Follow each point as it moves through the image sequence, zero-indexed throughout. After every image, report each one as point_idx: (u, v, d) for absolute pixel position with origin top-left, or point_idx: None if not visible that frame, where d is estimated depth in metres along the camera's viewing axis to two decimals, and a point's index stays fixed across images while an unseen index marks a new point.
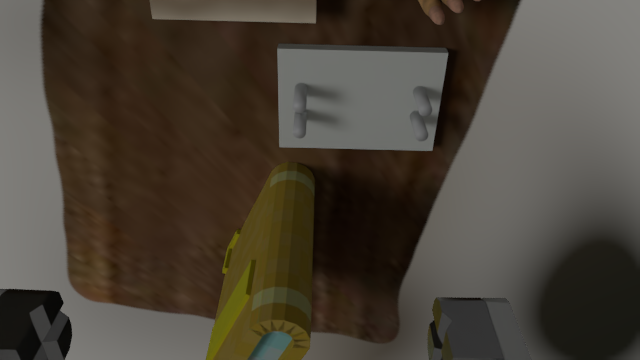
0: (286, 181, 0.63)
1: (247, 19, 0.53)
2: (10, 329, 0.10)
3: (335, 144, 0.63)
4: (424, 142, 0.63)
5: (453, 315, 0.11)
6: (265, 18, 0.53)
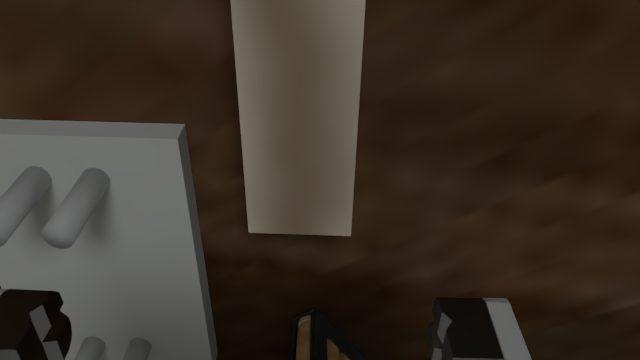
0: None
1: (243, 110, 0.23)
2: (10, 329, 0.10)
3: None
4: None
5: (453, 315, 0.11)
6: (249, 146, 0.24)
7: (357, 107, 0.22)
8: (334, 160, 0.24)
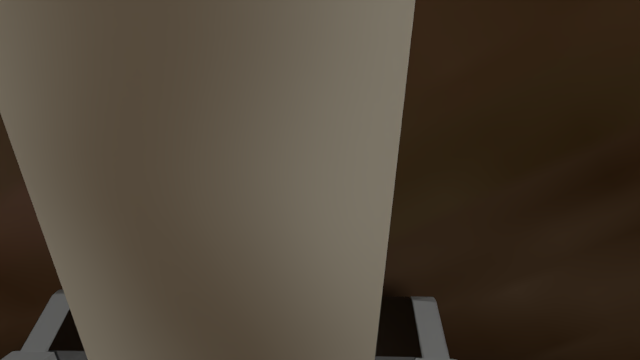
0: None
1: None
2: None
3: None
4: None
5: None
6: None
7: None
8: None
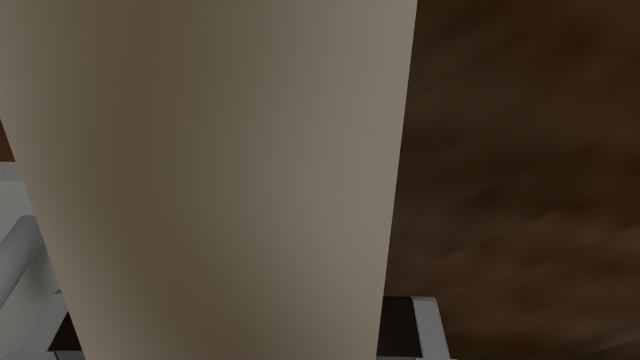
0: None
1: None
2: None
3: None
4: None
5: None
6: None
7: None
8: None
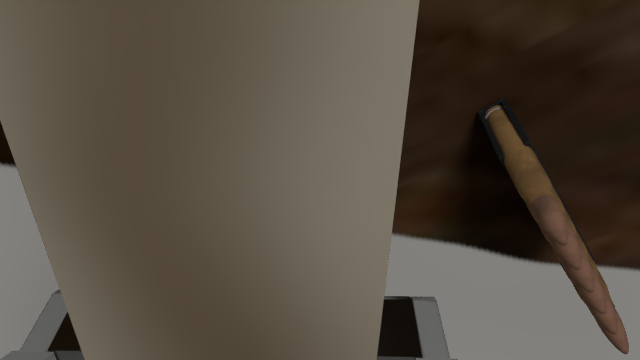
0: None
1: None
2: None
3: None
4: None
5: None
6: None
7: None
8: None
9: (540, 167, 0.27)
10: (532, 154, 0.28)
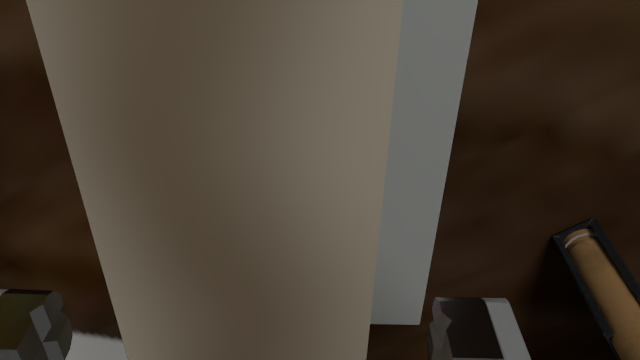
0: None
1: None
2: (10, 329, 0.10)
3: None
4: None
5: (453, 315, 0.11)
6: None
7: None
8: None
9: None
10: None
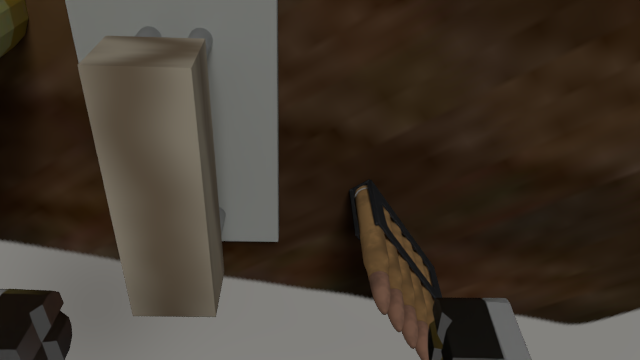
0: None
1: (117, 229, 0.29)
2: (10, 329, 0.10)
3: None
4: None
5: (453, 315, 0.11)
6: (125, 254, 0.30)
7: (206, 226, 0.29)
8: (194, 263, 0.30)
9: (381, 246, 0.34)
10: (378, 233, 0.35)
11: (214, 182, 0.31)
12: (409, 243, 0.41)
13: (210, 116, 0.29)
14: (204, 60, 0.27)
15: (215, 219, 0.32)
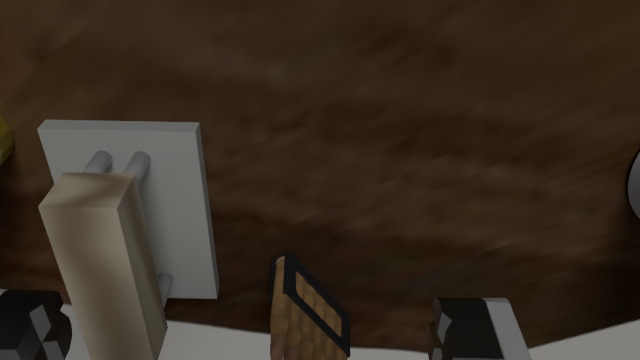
0: None
1: (75, 308, 0.39)
2: (10, 329, 0.10)
3: None
4: None
5: (453, 315, 0.11)
6: (83, 324, 0.41)
7: (140, 306, 0.39)
8: (134, 330, 0.41)
9: (284, 312, 0.44)
10: (284, 301, 0.45)
11: (151, 268, 0.42)
12: (322, 300, 0.51)
13: (144, 223, 0.40)
14: (134, 189, 0.38)
15: (153, 295, 0.42)
